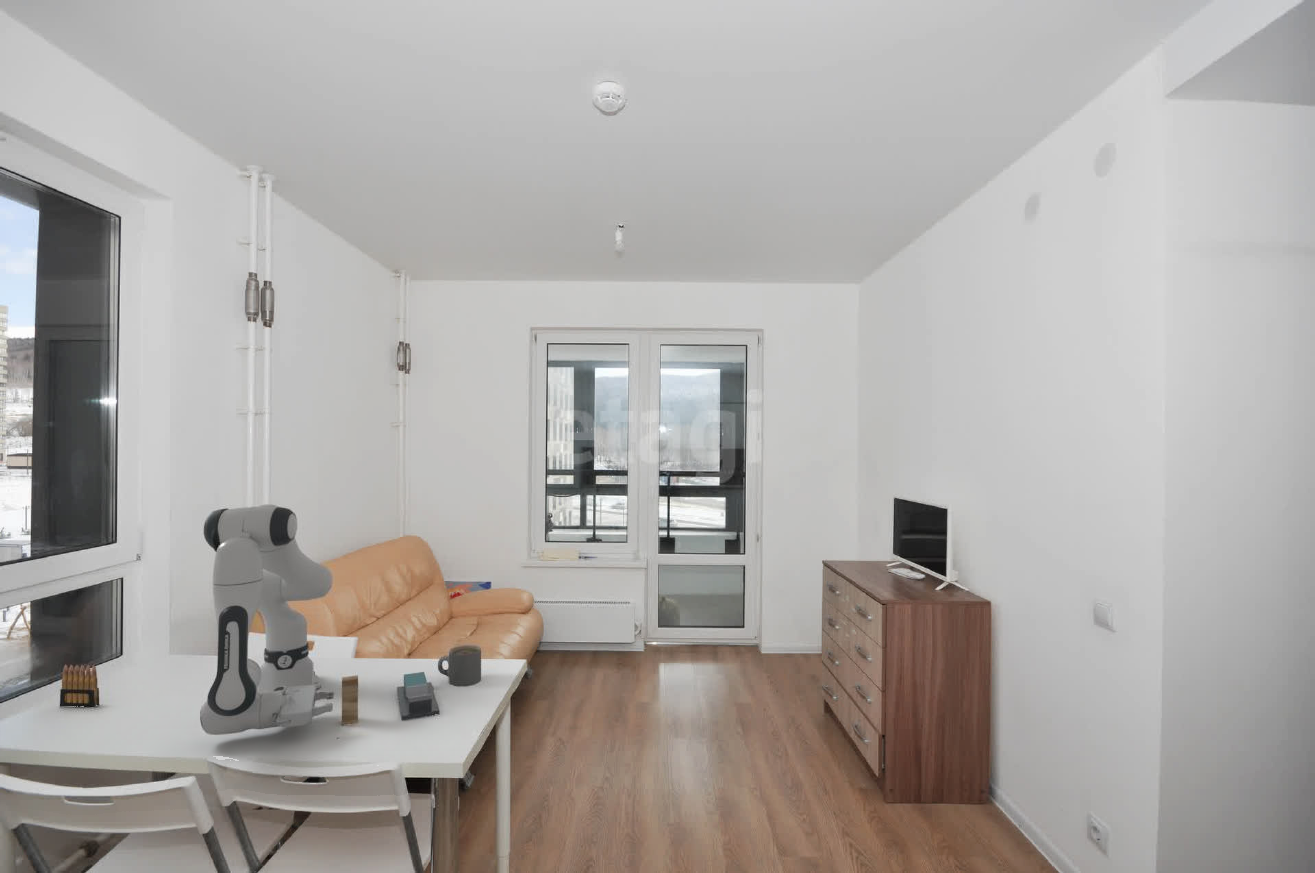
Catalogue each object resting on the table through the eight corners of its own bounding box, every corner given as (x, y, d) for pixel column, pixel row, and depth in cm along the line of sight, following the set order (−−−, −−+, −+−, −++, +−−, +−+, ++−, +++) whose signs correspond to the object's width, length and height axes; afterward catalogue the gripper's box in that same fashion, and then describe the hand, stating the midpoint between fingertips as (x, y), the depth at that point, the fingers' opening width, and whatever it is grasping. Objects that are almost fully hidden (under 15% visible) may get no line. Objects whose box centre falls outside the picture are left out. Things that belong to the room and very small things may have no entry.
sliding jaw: (403, 684, 206) (403, 674, 206) (424, 681, 209) (424, 671, 209) (406, 697, 195) (406, 687, 195) (427, 694, 198) (427, 684, 198)
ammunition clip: (59, 706, 192) (59, 665, 193) (65, 704, 194) (65, 663, 194) (93, 707, 192) (94, 666, 192) (99, 705, 194) (99, 664, 194)
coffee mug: (485, 675, 218) (485, 645, 218) (474, 687, 208) (474, 655, 208) (446, 674, 219) (446, 644, 219) (433, 685, 209) (433, 653, 209)
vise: (396, 690, 205) (396, 677, 205) (430, 685, 209) (430, 672, 209) (401, 720, 183) (401, 705, 183) (439, 714, 187) (439, 699, 187)
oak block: (342, 720, 183) (342, 677, 183) (357, 718, 184) (358, 675, 184) (341, 725, 179) (341, 681, 180) (357, 723, 181) (358, 679, 181)
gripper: (270, 711, 165) (331, 702, 171) (279, 684, 184) (334, 676, 189) (269, 737, 165) (331, 727, 171) (279, 707, 184) (334, 699, 189)
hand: (333, 700), depth 180 cm, fingers open, 8 cm apart
